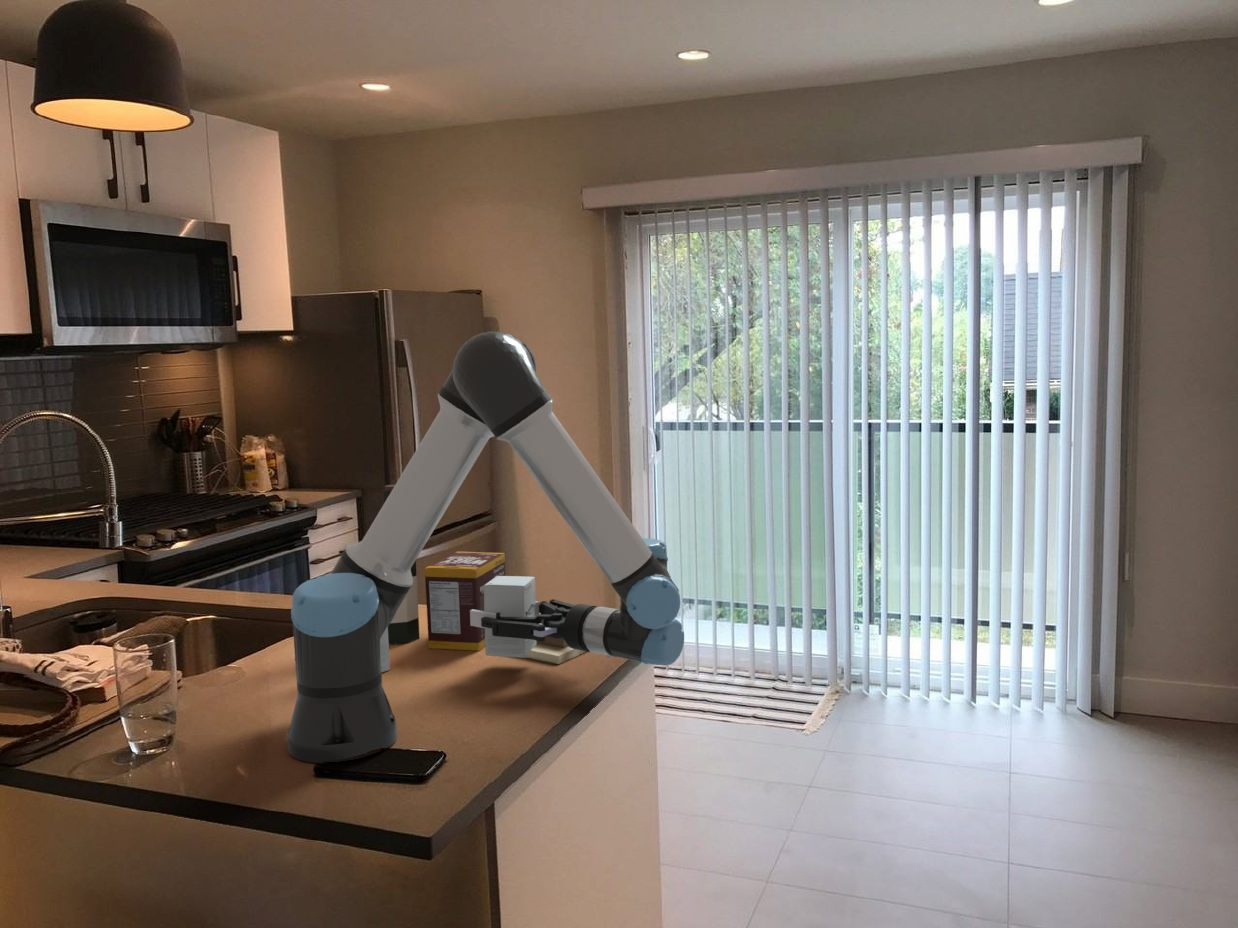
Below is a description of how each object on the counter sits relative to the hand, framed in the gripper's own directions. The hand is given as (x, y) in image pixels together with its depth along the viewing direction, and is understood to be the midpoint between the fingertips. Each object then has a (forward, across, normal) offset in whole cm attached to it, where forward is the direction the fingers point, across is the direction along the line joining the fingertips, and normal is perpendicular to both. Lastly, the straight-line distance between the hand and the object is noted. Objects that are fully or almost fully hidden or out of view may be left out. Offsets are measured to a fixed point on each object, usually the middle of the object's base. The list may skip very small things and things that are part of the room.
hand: (491, 610), depth 176 cm
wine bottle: (+27, +3, -10) cm, 29 cm away
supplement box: (+15, +10, -10) cm, 20 cm away
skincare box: (+17, -13, -10) cm, 23 cm away
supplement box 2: (-4, 0, -7) cm, 8 cm away
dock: (-2, +16, -10) cm, 19 cm away
